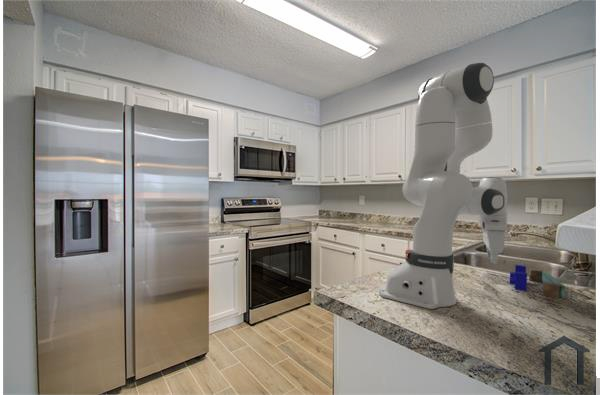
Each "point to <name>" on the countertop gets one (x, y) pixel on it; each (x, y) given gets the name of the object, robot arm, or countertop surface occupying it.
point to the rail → (548, 283)
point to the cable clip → (519, 278)
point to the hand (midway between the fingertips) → (491, 259)
